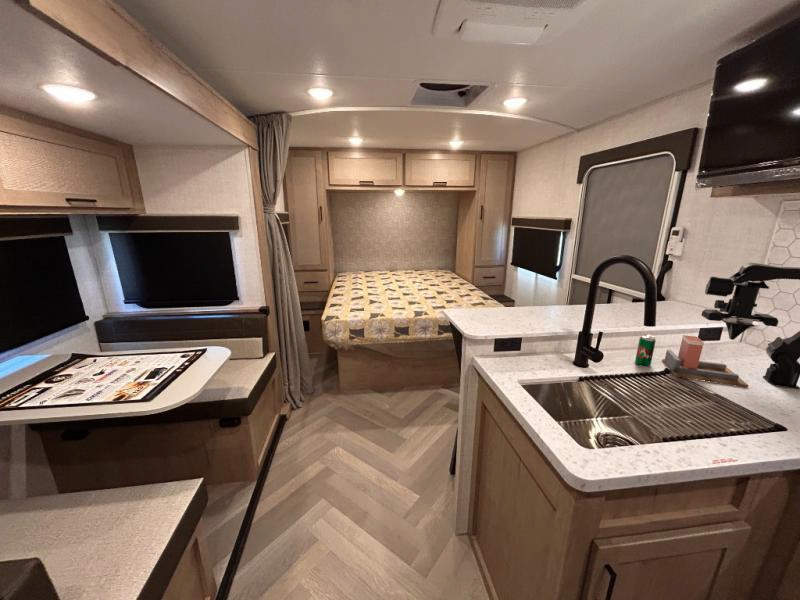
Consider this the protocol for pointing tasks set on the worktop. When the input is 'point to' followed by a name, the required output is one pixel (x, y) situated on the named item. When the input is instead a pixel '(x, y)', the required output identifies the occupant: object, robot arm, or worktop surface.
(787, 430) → the worktop surface
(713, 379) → the board
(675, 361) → the guide rails
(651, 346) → the soda can
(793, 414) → the worktop surface
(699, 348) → the red plug
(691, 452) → the worktop surface
